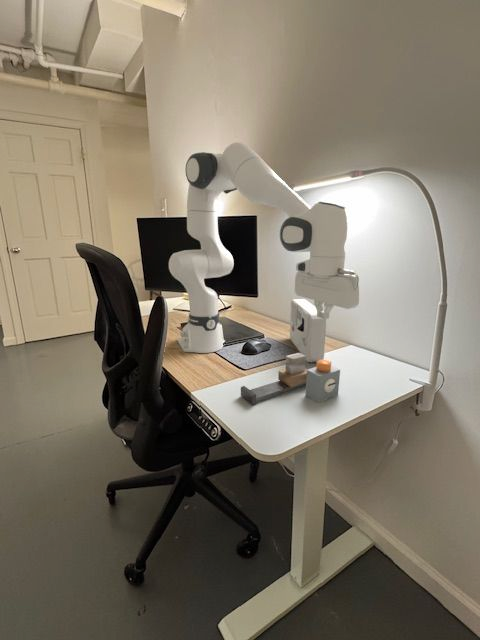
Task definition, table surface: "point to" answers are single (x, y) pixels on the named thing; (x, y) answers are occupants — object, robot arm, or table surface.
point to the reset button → (323, 365)
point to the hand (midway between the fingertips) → (322, 317)
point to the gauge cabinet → (322, 384)
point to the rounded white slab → (307, 330)
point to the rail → (267, 391)
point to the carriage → (294, 370)
